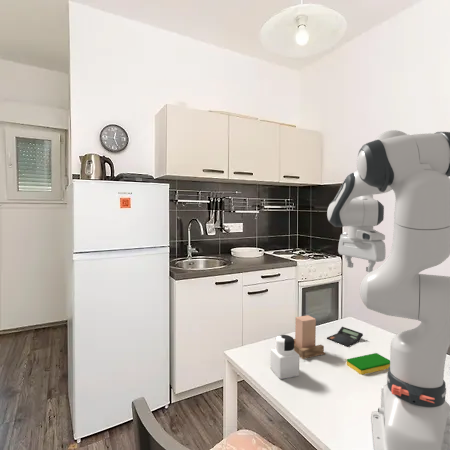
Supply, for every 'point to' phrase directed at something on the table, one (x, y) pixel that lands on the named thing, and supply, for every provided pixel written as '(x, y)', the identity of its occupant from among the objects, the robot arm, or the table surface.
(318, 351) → the tray
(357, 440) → the table surface
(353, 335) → the calculator
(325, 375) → the table surface
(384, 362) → the dish sponge
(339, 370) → the table surface
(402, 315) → the robot arm
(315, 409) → the table surface
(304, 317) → the clay block
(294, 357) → the medicine bottle
